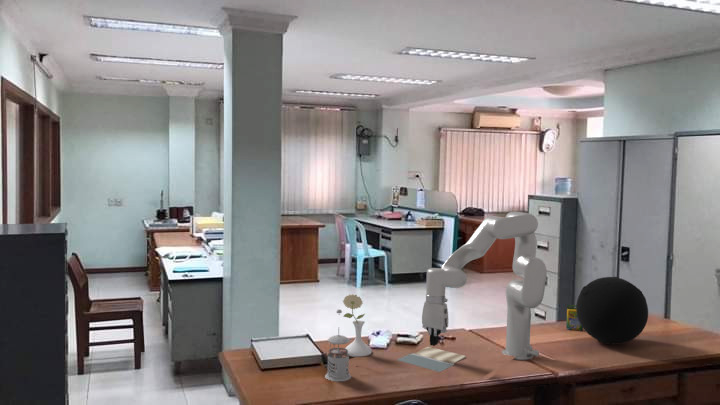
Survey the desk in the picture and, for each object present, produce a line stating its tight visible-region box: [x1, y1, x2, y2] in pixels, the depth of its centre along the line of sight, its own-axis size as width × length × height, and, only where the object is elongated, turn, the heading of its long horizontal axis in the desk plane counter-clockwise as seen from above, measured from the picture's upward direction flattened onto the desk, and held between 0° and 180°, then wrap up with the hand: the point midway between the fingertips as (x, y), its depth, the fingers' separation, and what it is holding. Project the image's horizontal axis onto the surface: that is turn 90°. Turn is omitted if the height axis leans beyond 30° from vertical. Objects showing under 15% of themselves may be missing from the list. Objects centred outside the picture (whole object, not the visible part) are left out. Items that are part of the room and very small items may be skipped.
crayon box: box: [565, 304, 584, 331], centre depth 280 cm, size 7×3×12 cm, turn 80°
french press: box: [324, 309, 352, 382], centre depth 211 cm, size 10×12×25 cm
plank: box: [413, 346, 466, 364], centre depth 233 cm, size 18×10×1 cm, turn 51°
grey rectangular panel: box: [396, 353, 455, 373], centre depth 225 cm, size 20×11×1 cm, turn 51°
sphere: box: [575, 276, 649, 345], centre depth 258 cm, size 30×30×30 cm
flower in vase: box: [342, 293, 373, 358], centre depth 235 cm, size 13×11×25 cm
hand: (433, 344), depth 229 cm, fingers closed
